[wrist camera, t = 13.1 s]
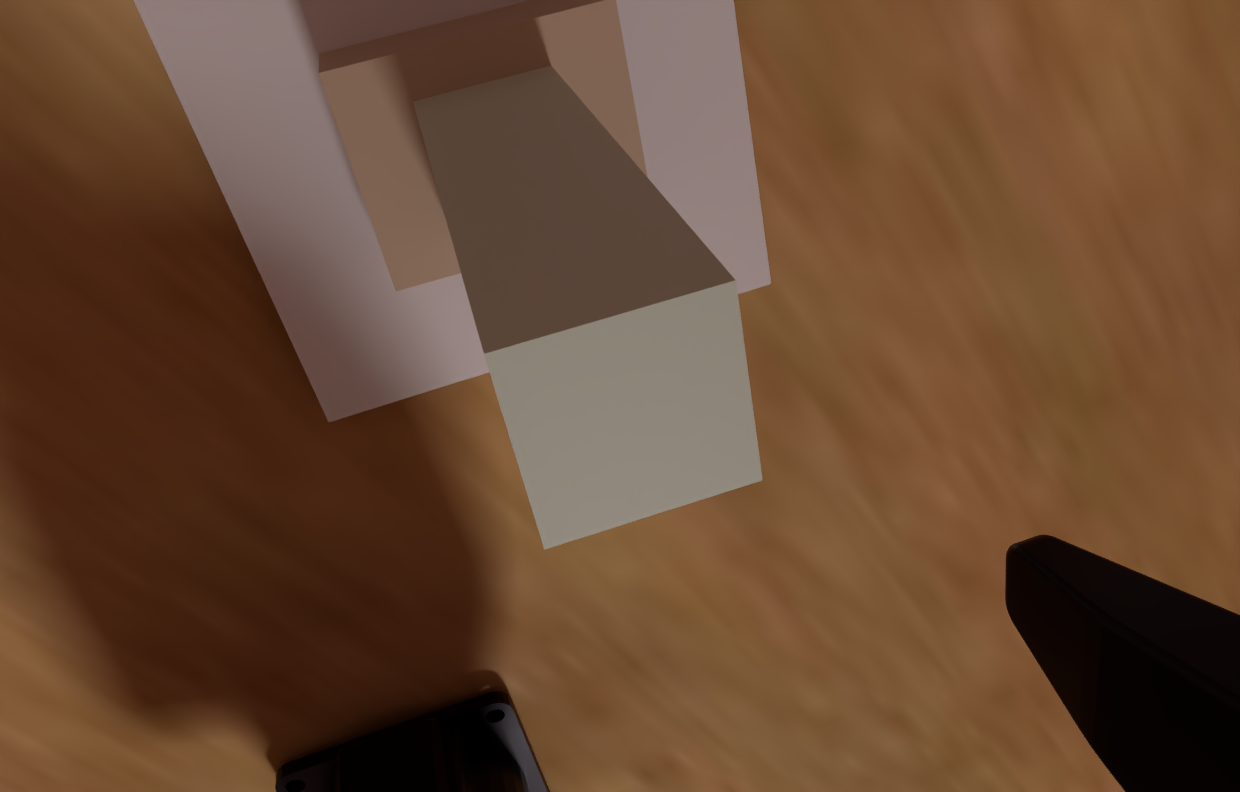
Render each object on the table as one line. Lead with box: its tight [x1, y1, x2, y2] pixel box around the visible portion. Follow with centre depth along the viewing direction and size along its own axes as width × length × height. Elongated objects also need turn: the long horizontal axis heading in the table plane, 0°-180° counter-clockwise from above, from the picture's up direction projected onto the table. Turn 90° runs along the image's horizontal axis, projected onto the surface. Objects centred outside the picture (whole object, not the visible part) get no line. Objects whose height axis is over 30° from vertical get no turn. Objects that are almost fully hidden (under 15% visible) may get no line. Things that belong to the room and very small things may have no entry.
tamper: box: [319, 0, 762, 550], centre depth 14 cm, size 4×5×10 cm
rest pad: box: [134, 0, 771, 422], centre depth 18 cm, size 10×10×1 cm
